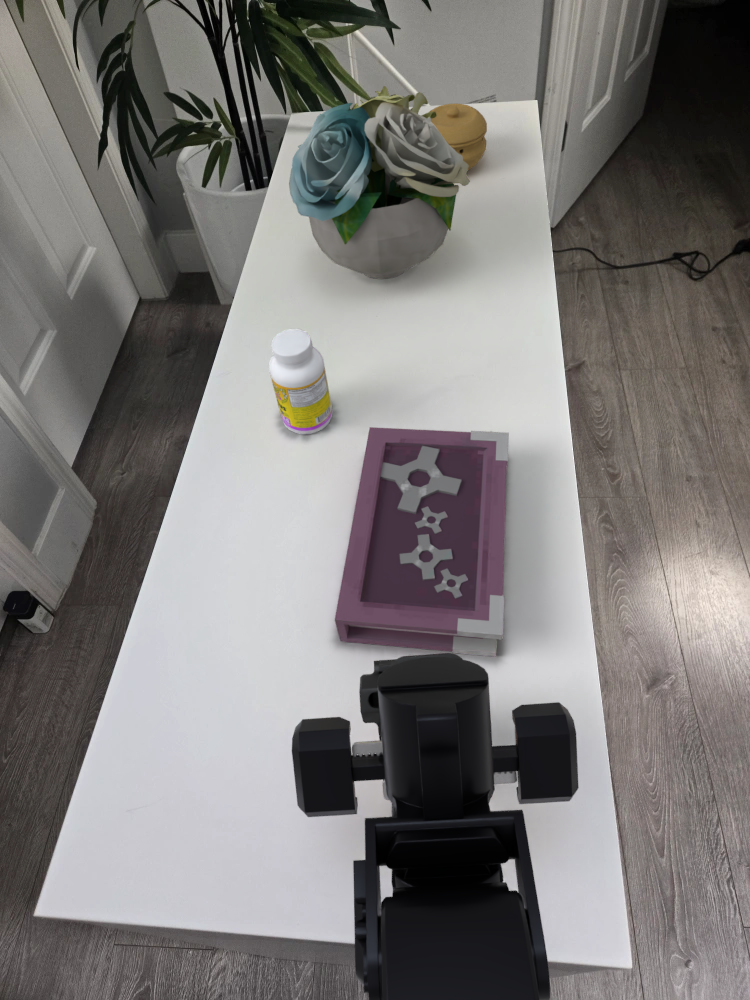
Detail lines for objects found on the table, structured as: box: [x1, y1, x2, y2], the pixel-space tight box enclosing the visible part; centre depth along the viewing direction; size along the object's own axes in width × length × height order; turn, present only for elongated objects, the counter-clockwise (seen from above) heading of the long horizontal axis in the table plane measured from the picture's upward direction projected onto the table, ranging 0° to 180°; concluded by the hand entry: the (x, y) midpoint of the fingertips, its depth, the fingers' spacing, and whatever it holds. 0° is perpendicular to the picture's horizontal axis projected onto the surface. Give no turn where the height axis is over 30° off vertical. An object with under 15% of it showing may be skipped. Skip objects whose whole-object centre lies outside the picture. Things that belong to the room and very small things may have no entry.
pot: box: [428, 103, 488, 171], centre depth 121 cm, size 12×12×10 cm
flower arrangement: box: [288, 85, 471, 280], centre depth 100 cm, size 25×25×24 cm
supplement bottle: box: [268, 328, 334, 435], centre depth 87 cm, size 7×7×13 cm
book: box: [334, 426, 510, 658], centre depth 77 cm, size 25×16×5 cm, turn 172°
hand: (427, 706), depth 56 cm, fingers closed
